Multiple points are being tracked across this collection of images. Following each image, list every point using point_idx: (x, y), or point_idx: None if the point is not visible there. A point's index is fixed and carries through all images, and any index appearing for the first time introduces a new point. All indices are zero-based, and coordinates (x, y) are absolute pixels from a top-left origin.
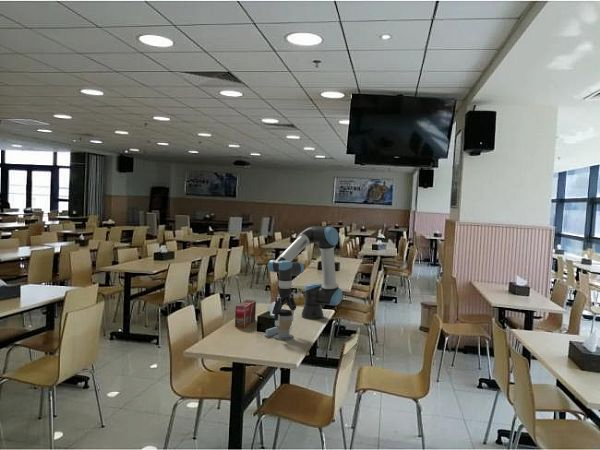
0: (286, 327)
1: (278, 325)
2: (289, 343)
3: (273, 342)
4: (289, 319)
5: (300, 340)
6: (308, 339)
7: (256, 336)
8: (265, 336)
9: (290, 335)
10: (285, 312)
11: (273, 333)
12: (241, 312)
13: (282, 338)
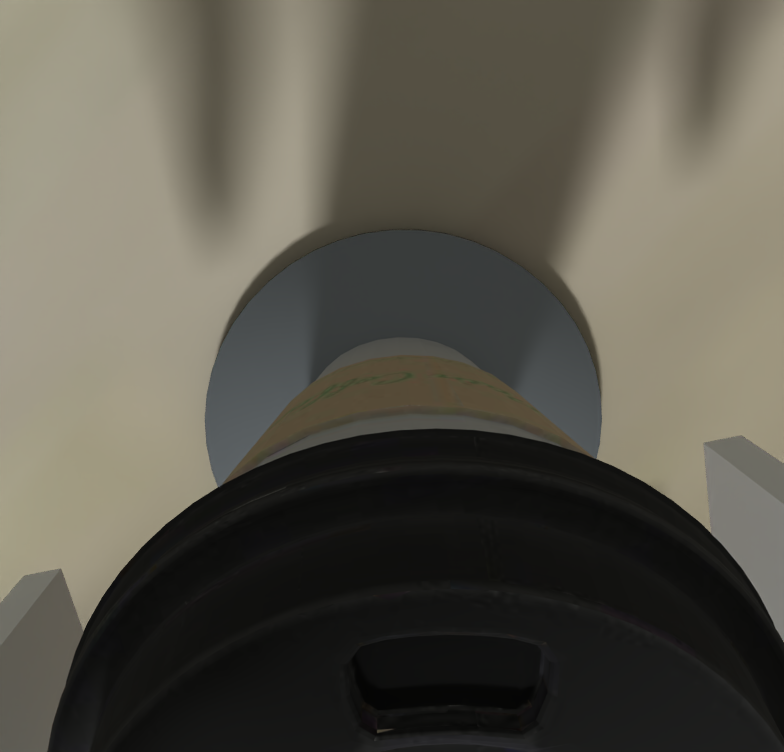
0: (462, 371)
1: (751, 446)
2: (590, 45)
3: (771, 294)
4: (377, 423)
5: (264, 60)
6: (70, 3)
7: None
8: None
9: (251, 394)
10: (673, 645)
11: None
12: None
13: (518, 335)
